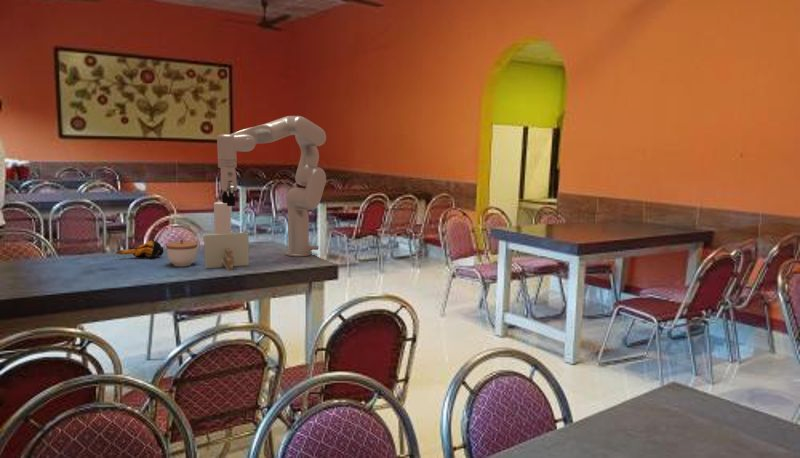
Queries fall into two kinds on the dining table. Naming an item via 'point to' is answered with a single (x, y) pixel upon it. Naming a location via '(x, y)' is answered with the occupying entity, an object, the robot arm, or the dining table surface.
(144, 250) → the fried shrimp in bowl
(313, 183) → the robot arm
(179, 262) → the lidded bowl
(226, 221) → the cylindrical container
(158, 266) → the dining table surface
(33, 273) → the dining table surface
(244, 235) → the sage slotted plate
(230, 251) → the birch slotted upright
